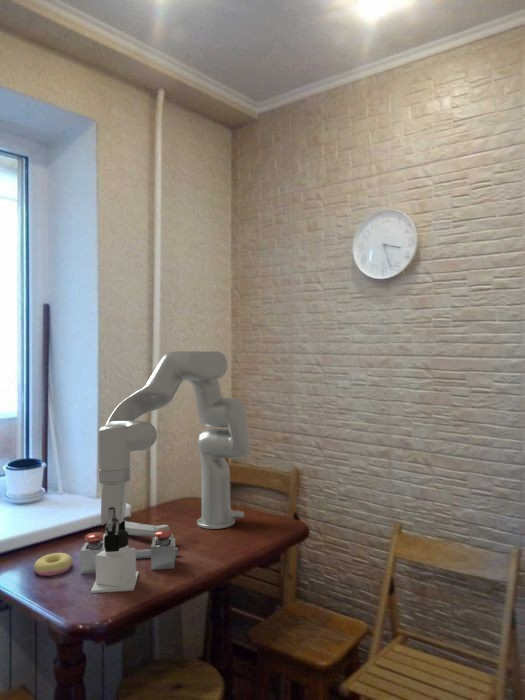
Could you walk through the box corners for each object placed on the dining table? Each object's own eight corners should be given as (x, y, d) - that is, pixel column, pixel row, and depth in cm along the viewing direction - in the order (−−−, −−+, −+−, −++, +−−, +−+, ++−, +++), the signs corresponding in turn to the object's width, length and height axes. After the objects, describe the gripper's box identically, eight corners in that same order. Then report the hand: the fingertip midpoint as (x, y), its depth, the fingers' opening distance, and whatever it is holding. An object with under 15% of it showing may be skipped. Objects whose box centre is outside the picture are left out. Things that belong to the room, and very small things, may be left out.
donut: (75, 571, 147) (42, 566, 147) (78, 553, 147) (45, 548, 147) (62, 580, 137) (26, 575, 137) (65, 561, 137) (29, 556, 138)
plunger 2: (172, 557, 147) (172, 528, 147) (171, 564, 142) (171, 534, 142) (155, 558, 146) (155, 529, 146) (154, 565, 142) (153, 535, 142)
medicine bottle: (136, 576, 135) (135, 528, 136) (120, 587, 129) (120, 537, 129) (112, 572, 138) (111, 526, 138) (95, 584, 131) (94, 535, 131)
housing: (177, 554, 151) (177, 533, 151) (176, 568, 142) (175, 545, 142) (86, 559, 148) (86, 538, 148) (78, 573, 139) (78, 550, 139)
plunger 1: (105, 561, 145) (104, 531, 145) (102, 568, 140) (101, 537, 140) (87, 562, 144) (87, 532, 144) (83, 569, 140) (83, 538, 140)
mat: (138, 573, 138) (138, 571, 138) (133, 590, 129) (133, 587, 129) (98, 575, 137) (98, 573, 137) (90, 593, 127) (90, 590, 127)
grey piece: (121, 518, 174) (175, 520, 159) (123, 539, 173) (178, 543, 159) (107, 522, 169) (162, 525, 155) (110, 544, 169) (165, 548, 154)
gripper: (105, 468, 141) (106, 533, 141) (92, 484, 124) (93, 558, 124) (134, 467, 142) (135, 531, 142) (125, 482, 125) (126, 556, 125)
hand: (115, 543), depth 133 cm, fingers open, 9 cm apart
